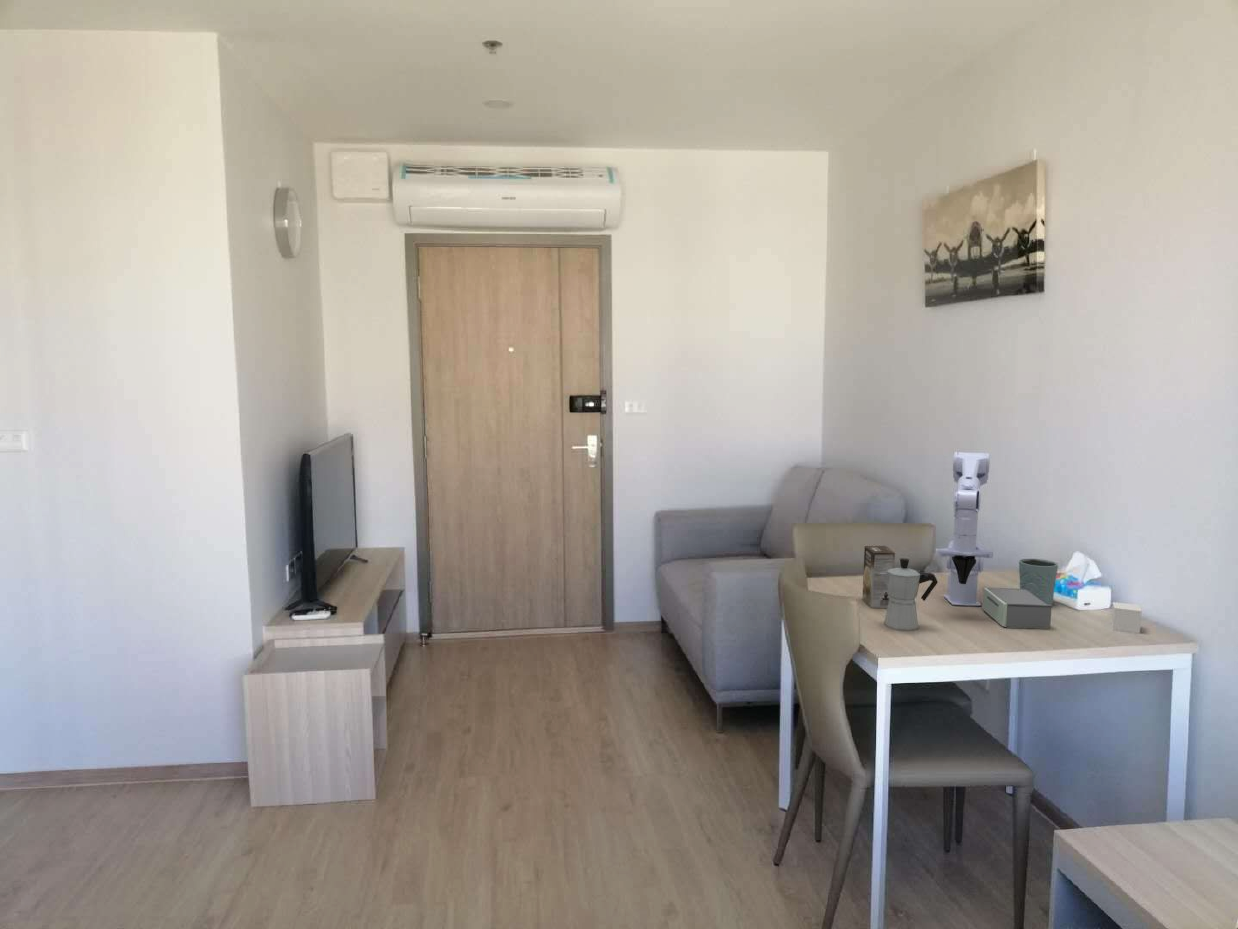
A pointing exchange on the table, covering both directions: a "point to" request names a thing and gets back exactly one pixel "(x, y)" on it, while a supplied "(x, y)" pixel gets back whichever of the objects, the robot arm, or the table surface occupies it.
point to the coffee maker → (904, 595)
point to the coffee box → (876, 575)
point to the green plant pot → (1038, 577)
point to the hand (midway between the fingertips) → (962, 583)
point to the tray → (994, 607)
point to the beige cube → (1126, 617)
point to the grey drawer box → (1024, 608)
